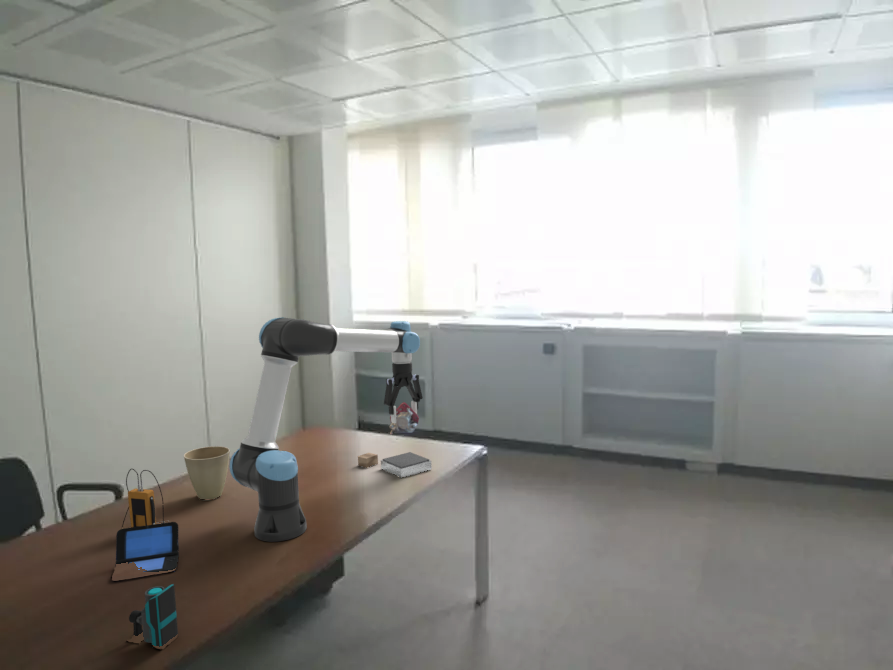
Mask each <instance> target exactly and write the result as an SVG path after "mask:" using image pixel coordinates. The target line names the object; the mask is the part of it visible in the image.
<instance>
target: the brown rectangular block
mask: <svg viewBox="0 0 893 670" xmlns="http://www.w3.org/2000/svg"><path fill="white" fill-rule="evenodd" d="M378 457H379V456H378V454H376V453H372V452H366V453H364V454H361V455H358V456H357V464H358V465H359V466H358V465H357V466H358V467H361V466H363V467H362V468H365V467H366V469H368V468H367V467H369V468H371V467H373V466H372V465H374V466H376V465H375V464H377V465H379V458H378ZM370 466H371V467H370Z"/></svg>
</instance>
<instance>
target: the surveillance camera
mask: <svg viewBox="0 0 893 670" xmlns="http://www.w3.org/2000/svg"><path fill="white" fill-rule="evenodd" d="M175 590H176V588H175V584H174V583H172V584H169V585H168V586H167V587H164V586H162V585H156V586H153V587H149V588H148V589H146V590H145V591H144V600H145V604H144V608H142V609H141V610H137V609H136V610H132V611H131V612H130V614H129V616H128V621H129V622H130V623H131V624H133V634H132V636H133V635H135V636H138V635H139V634H141V633H142V632H143V637H144V641H143V642H145V643H149V644H150V643H151V645H154V646H159V647H160V646H163V645H164V644H166V643H167V642H168V641H169V640H170V639H172V638H173V637H175V636H176V635H177V634H178V635H179V628H178V616H177V604H176V591H175Z"/></svg>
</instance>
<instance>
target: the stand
mask: <svg viewBox="0 0 893 670" xmlns="http://www.w3.org/2000/svg"><path fill="white" fill-rule="evenodd" d="M432 467H433V465H432V460H430V459H429V458H426V457H425V456H424V457H423V456H421V455H419V454H416V453H413V452H411V451H409V452H405V453H401V454H396V455H393V456H389V457H385V458H382V459H381V460H380V469H381V470H382V469H383V471H384V470H385V471H384V472H387V471H388V472H387V473H389V472H390V473H389V474H391V473H392V474H391V475H393V474H395V475H397V476H396V477H398V476H399V477H398V478H400V477H401V478H400V479H403V478H402V477H404V478H407V477H410V475H411V476H414V475H418V474H421V473H425V472H427V470H428V471H431V469H432ZM424 471H425V472H424ZM420 472H421V473H420ZM395 475H394V476H395ZM406 476H407V477H406Z"/></svg>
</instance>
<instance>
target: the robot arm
mask: <svg viewBox="0 0 893 670" xmlns="http://www.w3.org/2000/svg"><path fill="white" fill-rule="evenodd" d="M258 340H259V343H260V346H261V348H262V349H261V354H260V357H261V358H262V360H263V367H262V373H261V376H260V380H259V384H258V389H257V393H256V398H255V403H254V406H253V410H252V415H251V419H250V420H251V421H250V424H249V429H248V434H247V436H246V438H244V439H242V440H241V441H240V445H239V448H238V449H236V451H235V452H233V453H232V455H231V458H229V464H228V469H229V472H230V476H231V477H232V479H234V481H236V482H237V483H238V484H240V485H241V486H243V487H245V488H246V487H247V488H249V489H251V490H252V491H255V492H256V493H257V495H258V498H257V499H258V512H257V516H256V519H255V524H254V528H253V529H254V531H253V532H254V537H255V538H256V539H257V540H260V541H263V542H271V543H272V542H275V543H276V542H283V541H288V540H292V539H294V538H295V539H296V538H298V537H300V536H301V535H303V534H304V533H305V532H306V531H307V526H308V525H307V519H306V516H305V515H304V512H303V509H302V507H301V504H300V493H299V492H300V490H299V477H298V476H299V473H298V472H299V467H298V462H297V457H296V456H295V455H294V453H291V452H289V451H286V450H280V447H279V445H278V443H276V439H277V435H278V432H279V431H278V430H279V426H280V421H281V416H282V412H283V407H284V404H285V398H286V394H287V390H288V385H289V380H290V376H291V371H292V368H293V367H294V366H296V365H297V364H299V359H300V357H307V356H308V357H311V356H317V355H318V356H321V355H326V356H327V355H332V354H333V353H335V352H346V353H347V352H349V353H350V352H353V353H354V352H355V353H357V352H358V353H359V352H360V353H391V362H392V364H391V368H392V369H391V370H392V377H391V378H385V384H386V385H385V393H384V399H383V405H384V406H387V407H388V414H389V415H390V416H391V421H390V423H391V422H392V423H396V421H397V420H396V417H397V416H396V409H397V406H396V405H395V403H396V401H397V398H398V394H399V392H400V390H401V389H402V388H404V387H406V389H407V391H408V393H409V395H410V398H411V399H412V400H411V401H410V404H411V405H410V406H411V407H410V408H411V409H412V410H413V411H414V412H415V413H416V414H417V415H418V410H419V403H420V402H421V400H422V399H423V394H422V390H421V389H422V388H421V384H420V374H416V373H414V374H413V363H412V360H413V358H412V357H413V356H412V354H414V353H417V352H418V350H419V349H420V346H421V339H420V336H419V335H418V333H416V332H414V331H412V328H411V323H410V322H409V321H408V320H407V321H405V320H397V321H392V322H390V327H389V328H382V329H368V328H367V329H366V328H365V329H363V328H350V327H349V328H347V327H335V325H334V324H330V323H322V322H317V321H316V322H315V321H311V320H307V319H301V318H292V317H283V316H282V317H275V318H271V319H269V320H267V321H266V322H264V324H263V325H262V326H261V328H260V331H259V333H258ZM412 383H413V384H412Z"/></svg>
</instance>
